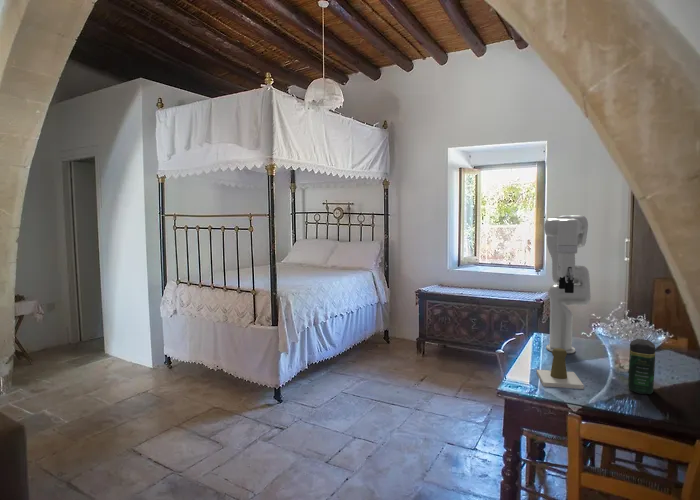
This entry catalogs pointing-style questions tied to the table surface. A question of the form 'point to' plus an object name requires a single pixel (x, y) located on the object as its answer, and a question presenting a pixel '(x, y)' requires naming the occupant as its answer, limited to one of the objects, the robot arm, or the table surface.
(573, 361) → the table surface
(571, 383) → the tile
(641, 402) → the table surface
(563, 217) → the robot arm
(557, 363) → the cork
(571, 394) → the table surface
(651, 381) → the coffee jar
